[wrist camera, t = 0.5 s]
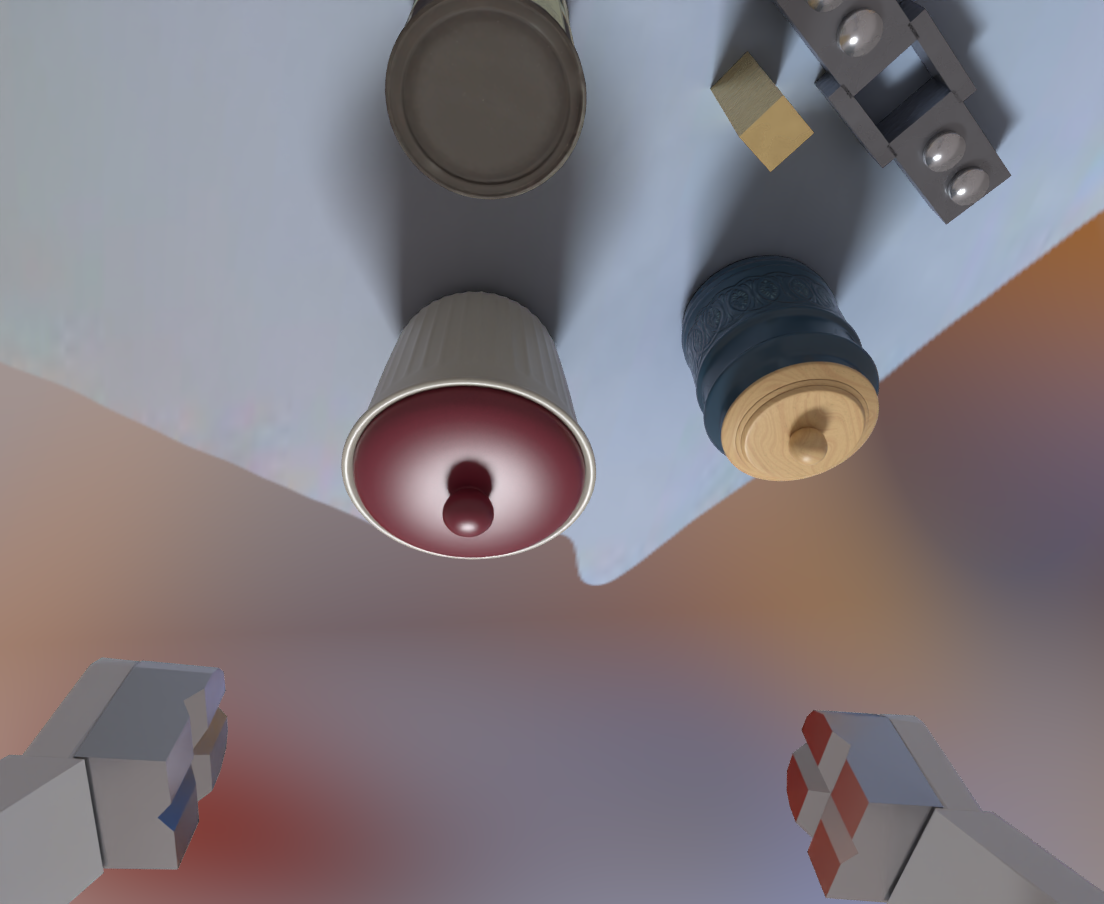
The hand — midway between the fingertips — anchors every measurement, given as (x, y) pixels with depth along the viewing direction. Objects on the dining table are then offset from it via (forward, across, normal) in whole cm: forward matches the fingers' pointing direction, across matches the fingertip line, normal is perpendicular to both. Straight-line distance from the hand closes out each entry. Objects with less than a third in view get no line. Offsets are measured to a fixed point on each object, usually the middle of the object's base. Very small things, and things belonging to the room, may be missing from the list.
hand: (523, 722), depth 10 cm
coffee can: (+48, +3, -12) cm, 50 cm away
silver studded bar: (+48, -24, -13) cm, 56 cm away
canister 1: (+56, +2, +12) cm, 57 cm away
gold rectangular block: (+49, -15, -11) cm, 52 cm away
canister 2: (+55, -22, +6) cm, 59 cm away
